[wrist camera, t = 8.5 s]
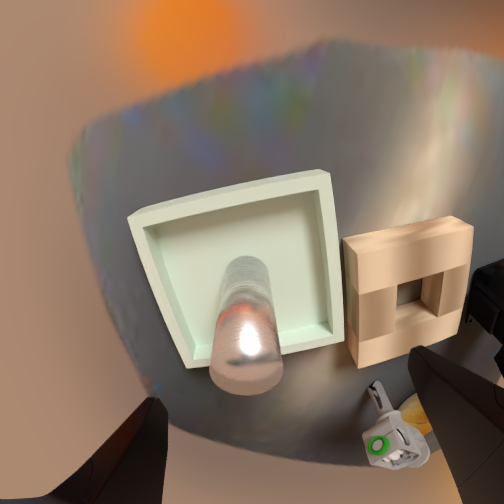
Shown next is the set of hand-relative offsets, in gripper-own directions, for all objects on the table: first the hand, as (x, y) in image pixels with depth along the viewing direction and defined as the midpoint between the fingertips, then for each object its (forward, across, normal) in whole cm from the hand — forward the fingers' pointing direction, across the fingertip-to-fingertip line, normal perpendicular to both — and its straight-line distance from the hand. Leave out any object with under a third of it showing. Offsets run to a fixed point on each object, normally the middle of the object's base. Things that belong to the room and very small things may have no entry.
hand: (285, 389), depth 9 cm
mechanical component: (+12, -8, +17) cm, 22 cm away
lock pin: (+11, +2, +1) cm, 11 cm away
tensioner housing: (+12, -10, +5) cm, 17 cm away
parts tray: (+12, +2, +1) cm, 12 cm away
